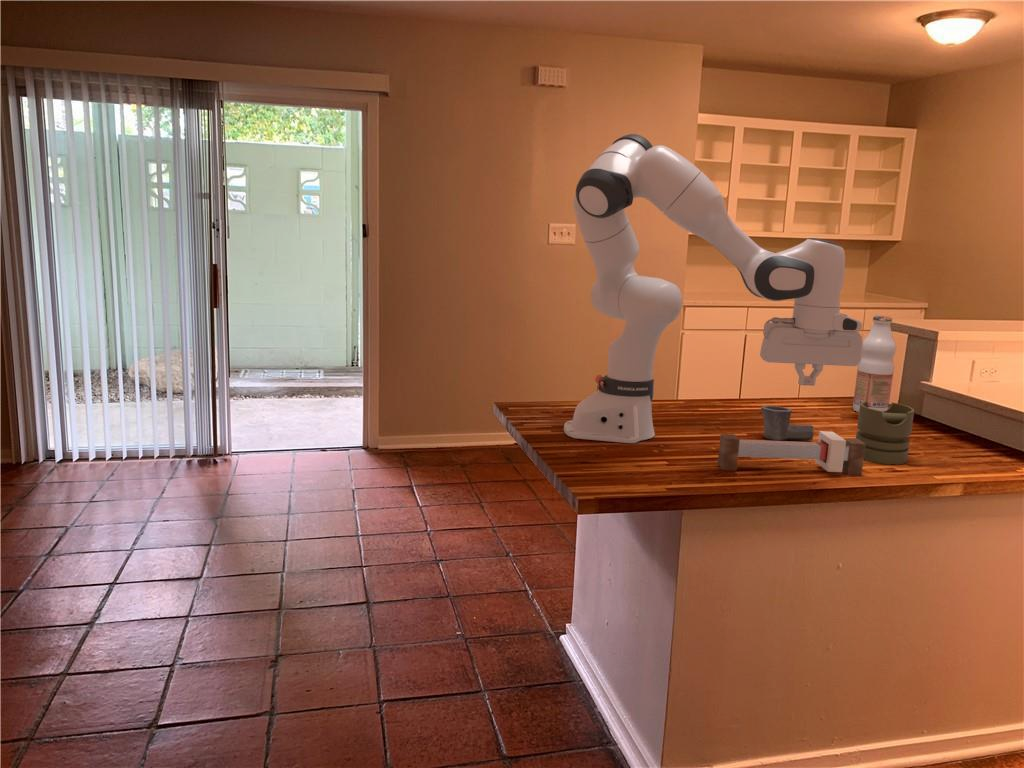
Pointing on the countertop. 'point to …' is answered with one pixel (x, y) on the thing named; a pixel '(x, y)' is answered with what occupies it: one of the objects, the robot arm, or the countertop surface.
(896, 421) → the piston
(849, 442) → the posts
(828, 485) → the countertop surface
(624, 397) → the robot arm
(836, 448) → the collar
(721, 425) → the countertop surface
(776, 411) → the pipe
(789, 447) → the steel rail
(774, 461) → the countertop surface
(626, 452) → the countertop surface
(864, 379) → the fruit juice
